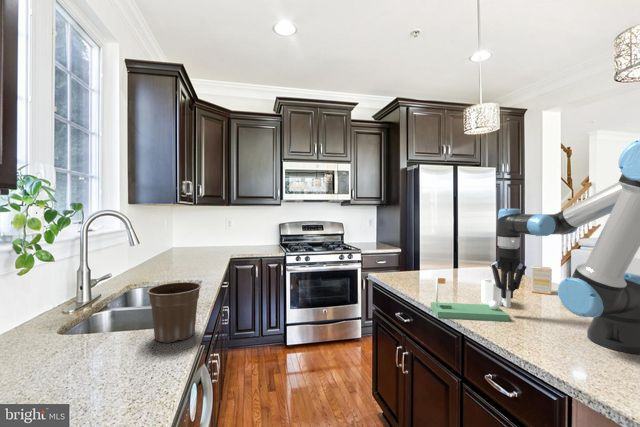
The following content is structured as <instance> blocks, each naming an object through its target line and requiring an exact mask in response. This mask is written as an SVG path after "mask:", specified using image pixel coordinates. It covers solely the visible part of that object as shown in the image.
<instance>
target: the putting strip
mask: <svg viewBox="0 0 640 427" xmlns="http://www.w3.org/2000/svg"><path fill="white" fill-rule="evenodd" d="M439 284H441V285H442V284H446V278H445V277H435V301H434V302H433V301H431V302H430V309H431V311H432V312H433V313H434V315H435V316H436V317H437V318H438V319H453V320H455V319H456V320H470V321H471V320H472V321H473V320H474V321H492V322H494V321H495V322H510V315H509V314H508V313H507V312H506V311H504V310H503V309H501V308H500V307H499V308H498V309H496V310H493V309H491V308H490V307H489V305H487V304H484V303H482V304H480V303H477V304H476V303H461V302H460V303H459V302H458V303H457V302H440V301H439Z"/></svg>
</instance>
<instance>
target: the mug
mask: <svg viewBox="0 0 640 427" xmlns="http://www.w3.org/2000/svg"><path fill="white" fill-rule="evenodd" d="M480 290H481V292H480V295H481V296H480V297H481V298H480V302H481V303H482V304H484V305H489V303H490V301H496V302H498V304H499V307H501V306H502V305H503V298H502V297H501V289H499V288H498V287H496V283H495V279H486V278H485V279H481V289H480Z"/></svg>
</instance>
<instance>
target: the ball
mask: <svg viewBox="0 0 640 427" xmlns="http://www.w3.org/2000/svg"><path fill="white" fill-rule="evenodd" d="M489 307H490V308H491V309H493V310H496V309H498V308H500V306H499V304H498V302H496V301H490V303H489Z"/></svg>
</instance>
